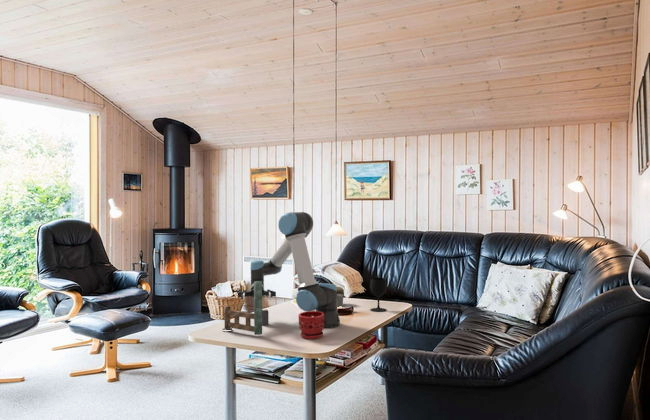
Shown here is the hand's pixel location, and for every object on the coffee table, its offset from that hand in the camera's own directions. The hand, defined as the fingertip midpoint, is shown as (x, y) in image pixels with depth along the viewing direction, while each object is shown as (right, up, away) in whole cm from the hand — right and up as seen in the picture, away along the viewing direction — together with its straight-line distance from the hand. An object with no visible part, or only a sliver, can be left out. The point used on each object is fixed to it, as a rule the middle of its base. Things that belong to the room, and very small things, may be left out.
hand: (256, 297), depth 269 cm
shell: (+43, -18, +75) cm, 88 cm away
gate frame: (-8, -19, +13) cm, 24 cm away
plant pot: (+29, -19, -7) cm, 35 cm away
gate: (-7, -18, 0) cm, 19 cm away
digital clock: (+39, -18, +56) cm, 70 cm away
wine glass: (+69, -18, +57) cm, 91 cm away
